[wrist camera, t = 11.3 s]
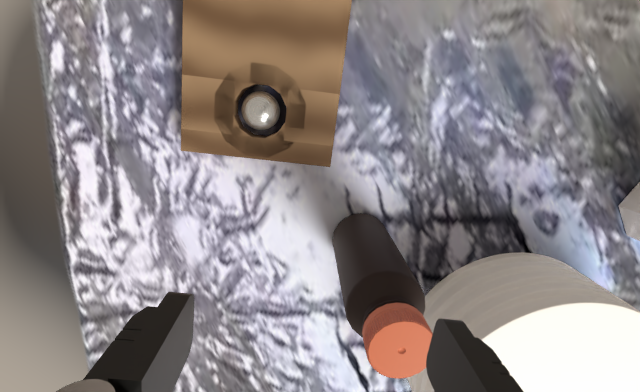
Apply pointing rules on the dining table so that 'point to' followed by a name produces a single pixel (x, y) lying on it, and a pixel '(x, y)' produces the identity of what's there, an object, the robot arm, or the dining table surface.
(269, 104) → the steel ball
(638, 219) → the jar
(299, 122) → the board
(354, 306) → the bottle
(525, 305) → the plate stack
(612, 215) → the dining table surface
